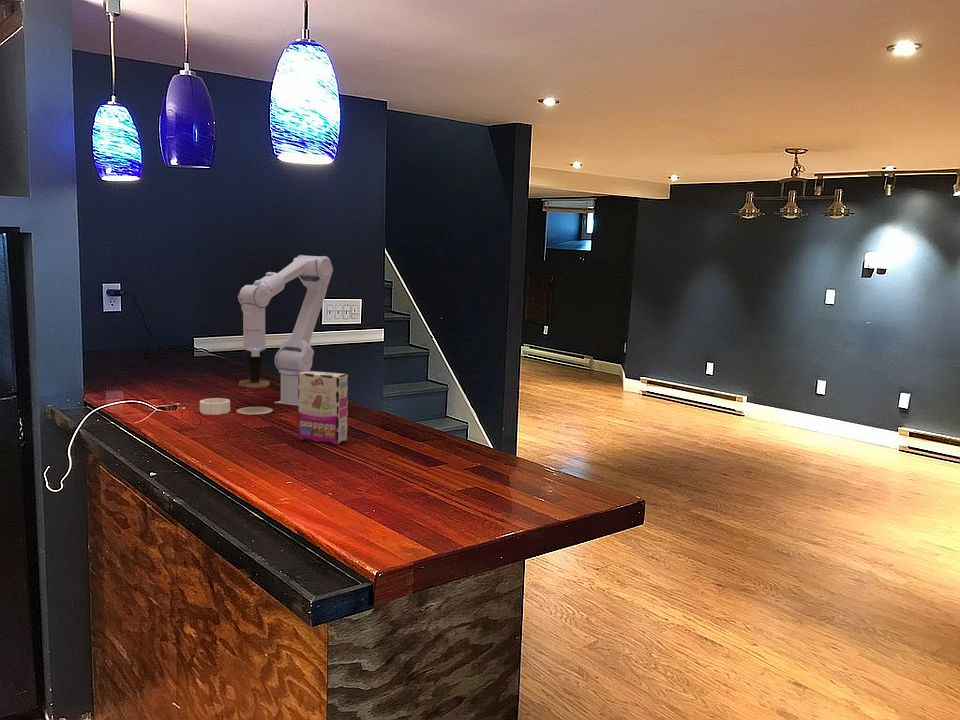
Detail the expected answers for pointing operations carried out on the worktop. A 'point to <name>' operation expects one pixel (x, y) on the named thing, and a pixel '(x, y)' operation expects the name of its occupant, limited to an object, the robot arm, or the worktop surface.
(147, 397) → the worktop surface
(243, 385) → the lid
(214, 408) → the bowl
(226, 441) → the worktop surface
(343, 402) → the candy bar box
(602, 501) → the worktop surface
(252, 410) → the coaster
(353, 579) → the worktop surface
